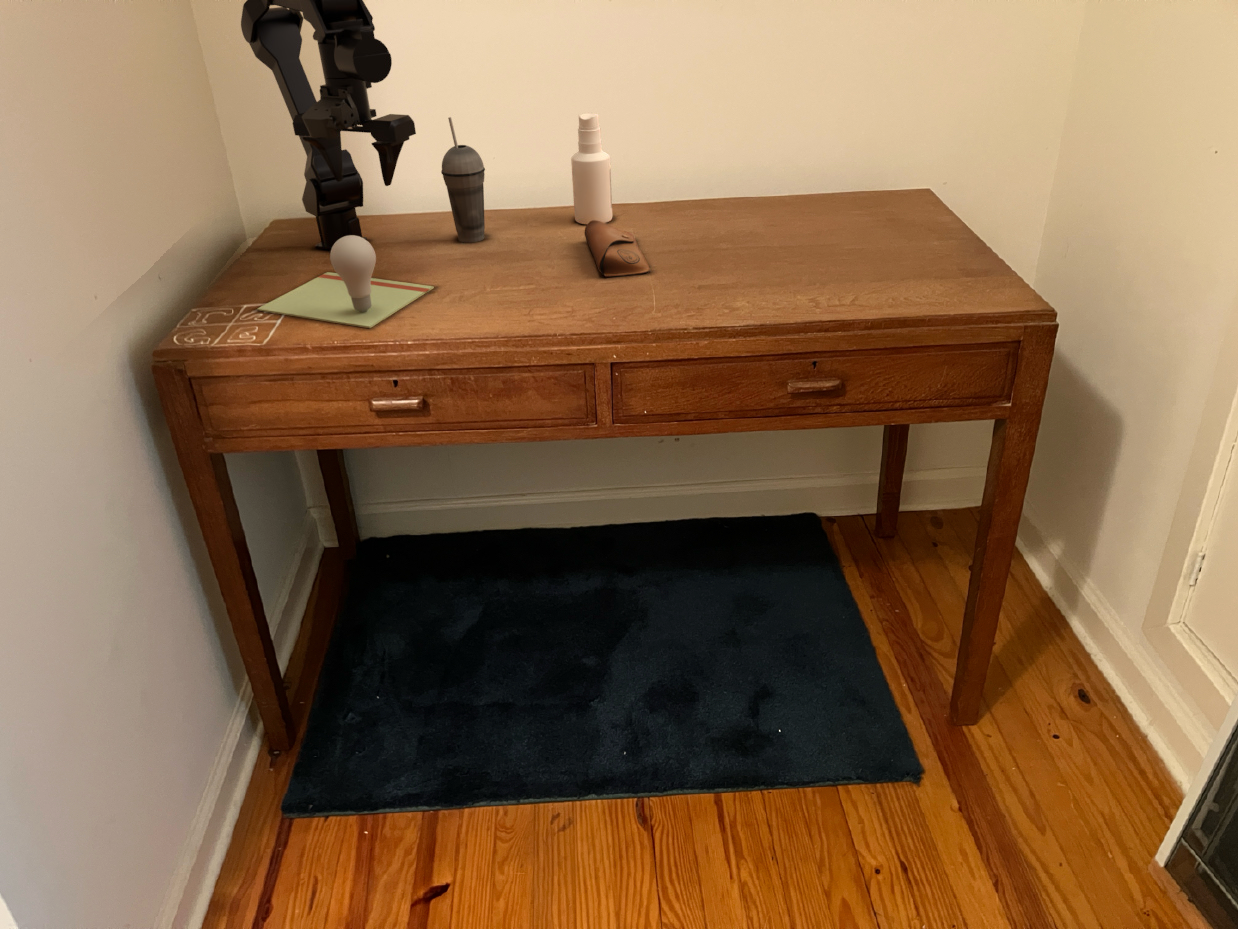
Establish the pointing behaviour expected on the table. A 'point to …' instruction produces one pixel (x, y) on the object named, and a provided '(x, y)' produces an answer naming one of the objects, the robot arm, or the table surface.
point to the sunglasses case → (614, 250)
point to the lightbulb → (355, 268)
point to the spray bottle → (591, 174)
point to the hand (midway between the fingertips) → (363, 183)
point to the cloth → (345, 301)
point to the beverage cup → (465, 189)
